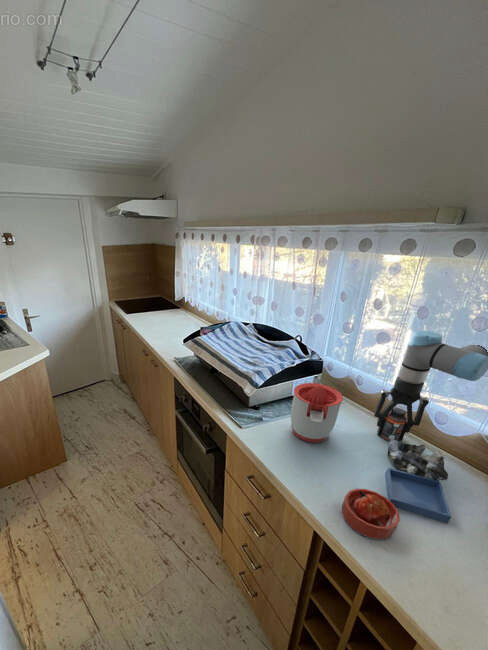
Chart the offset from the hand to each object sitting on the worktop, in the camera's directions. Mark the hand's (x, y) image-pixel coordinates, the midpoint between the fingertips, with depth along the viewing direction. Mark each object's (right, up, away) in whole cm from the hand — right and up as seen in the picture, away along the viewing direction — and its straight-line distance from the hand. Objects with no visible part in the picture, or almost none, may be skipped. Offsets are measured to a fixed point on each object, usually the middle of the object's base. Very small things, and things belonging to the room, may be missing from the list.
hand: (389, 436), depth 110 cm
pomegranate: (-26, -16, -30) cm, 43 cm away
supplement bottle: (0, 0, 0) cm, 1 cm away
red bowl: (-26, -17, -30) cm, 43 cm away
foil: (-2, -8, -14) cm, 16 cm away
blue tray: (-9, -13, -24) cm, 28 cm away
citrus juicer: (-28, 0, +2) cm, 28 cm away
